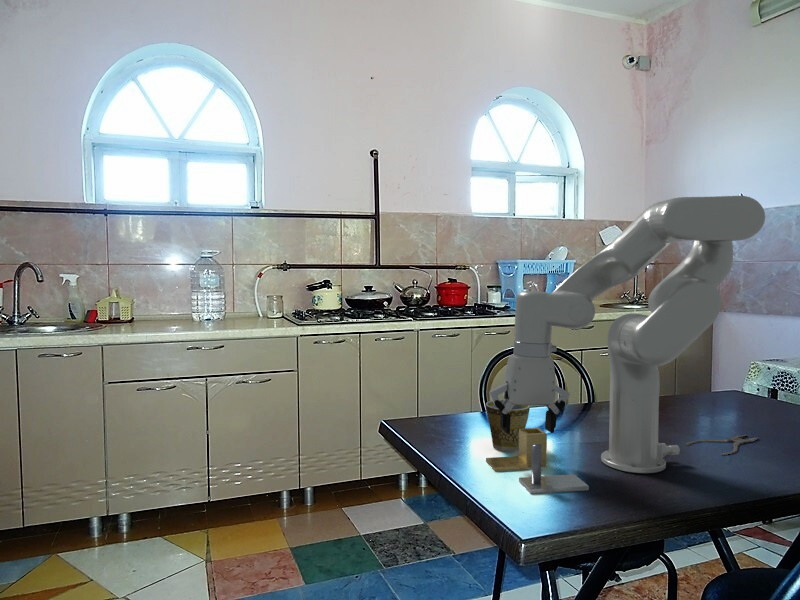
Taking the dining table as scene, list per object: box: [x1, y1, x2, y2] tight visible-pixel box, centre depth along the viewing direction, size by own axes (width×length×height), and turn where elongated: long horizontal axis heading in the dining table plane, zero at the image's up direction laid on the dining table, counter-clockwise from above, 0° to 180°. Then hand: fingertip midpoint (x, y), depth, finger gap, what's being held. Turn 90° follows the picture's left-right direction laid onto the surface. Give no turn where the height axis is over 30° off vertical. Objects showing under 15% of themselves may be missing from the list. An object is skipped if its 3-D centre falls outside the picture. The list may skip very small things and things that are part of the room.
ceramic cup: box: [485, 399, 531, 453], centre depth 131 cm, size 13×10×10 cm
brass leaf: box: [485, 427, 548, 472], centre depth 117 cm, size 11×6×7 cm, turn 98°
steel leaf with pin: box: [518, 444, 590, 495], centre depth 106 cm, size 11×6×8 cm, turn 98°
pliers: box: [685, 434, 759, 456], centre depth 132 cm, size 10×1×20 cm
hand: (527, 431), depth 118 cm, fingers open, 9 cm apart
